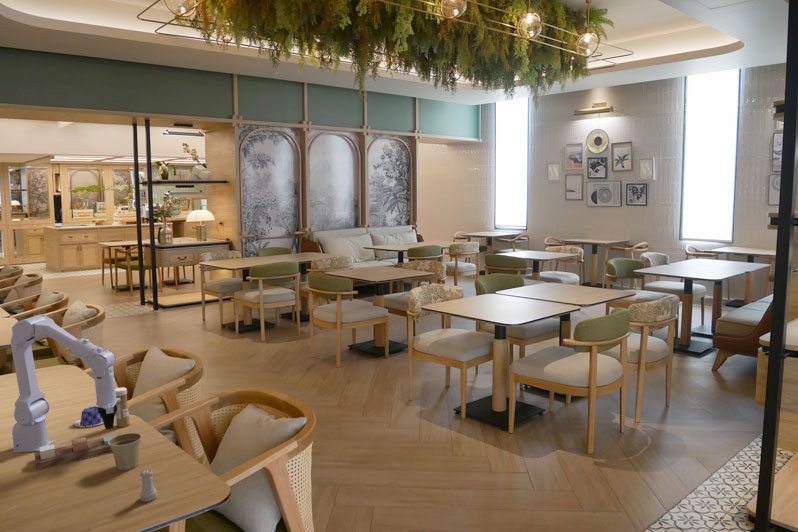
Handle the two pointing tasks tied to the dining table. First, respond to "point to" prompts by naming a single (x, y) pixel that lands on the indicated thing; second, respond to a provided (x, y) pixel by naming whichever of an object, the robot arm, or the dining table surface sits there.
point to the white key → (47, 451)
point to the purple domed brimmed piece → (89, 417)
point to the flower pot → (126, 450)
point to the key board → (72, 454)
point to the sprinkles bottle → (122, 408)
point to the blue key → (107, 439)
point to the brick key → (79, 444)
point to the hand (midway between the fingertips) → (109, 428)
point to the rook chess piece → (147, 486)
